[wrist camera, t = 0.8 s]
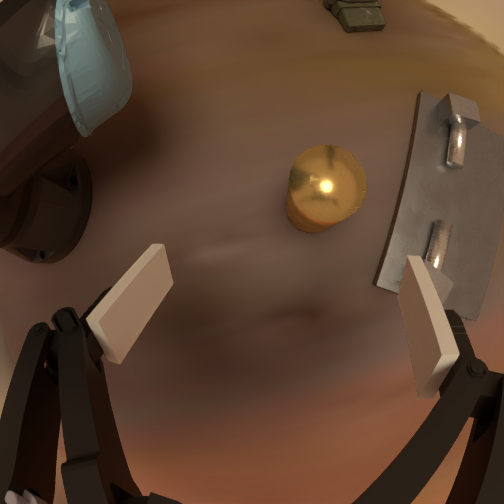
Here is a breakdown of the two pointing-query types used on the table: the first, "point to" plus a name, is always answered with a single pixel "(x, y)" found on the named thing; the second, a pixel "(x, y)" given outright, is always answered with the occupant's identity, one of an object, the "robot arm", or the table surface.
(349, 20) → the mechanical leg
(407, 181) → the bed plate
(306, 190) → the orange glossy cylinder
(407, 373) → the table surface
